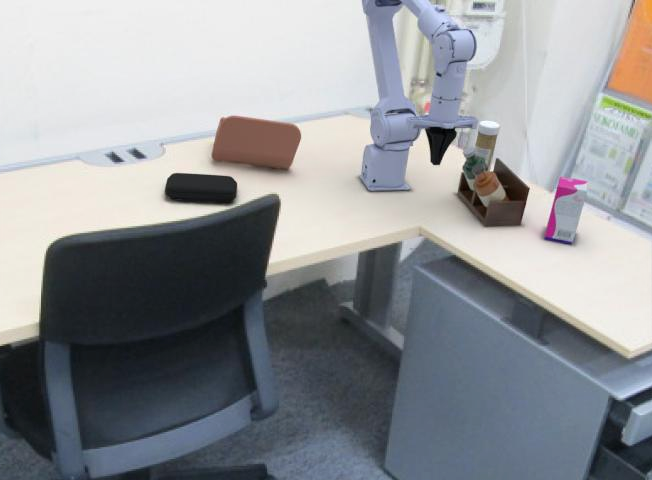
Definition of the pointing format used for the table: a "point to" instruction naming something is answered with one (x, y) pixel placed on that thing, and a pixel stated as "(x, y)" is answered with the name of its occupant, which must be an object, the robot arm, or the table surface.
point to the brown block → (256, 142)
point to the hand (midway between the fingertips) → (435, 163)
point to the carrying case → (201, 187)
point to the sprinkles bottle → (487, 140)
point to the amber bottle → (488, 186)
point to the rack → (498, 210)
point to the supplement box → (566, 210)
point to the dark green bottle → (472, 165)
